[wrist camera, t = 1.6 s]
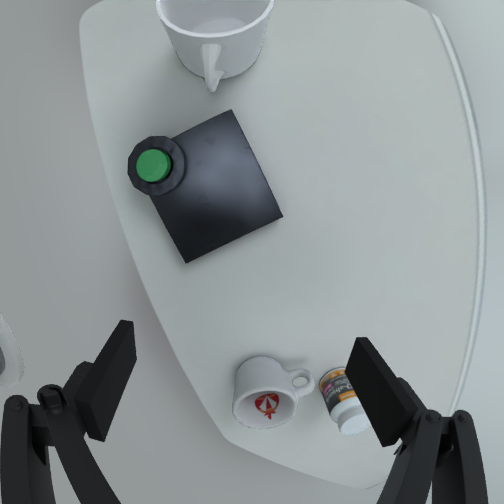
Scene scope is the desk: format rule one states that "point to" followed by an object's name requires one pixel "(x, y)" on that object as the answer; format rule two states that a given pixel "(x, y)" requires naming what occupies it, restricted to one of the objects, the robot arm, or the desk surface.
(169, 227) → the scale
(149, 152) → the tare button
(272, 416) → the cup
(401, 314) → the desk surface
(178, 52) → the mug
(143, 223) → the desk surface
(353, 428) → the pill bottle
